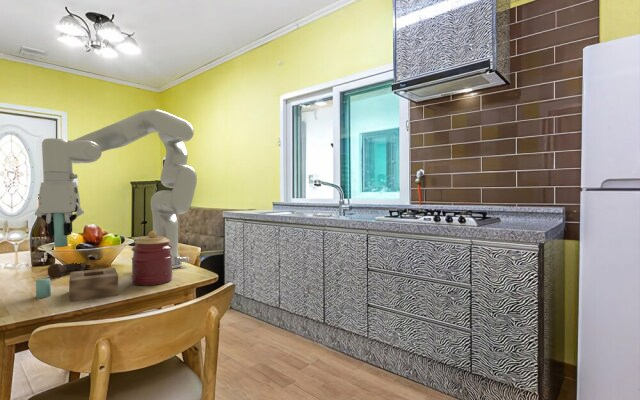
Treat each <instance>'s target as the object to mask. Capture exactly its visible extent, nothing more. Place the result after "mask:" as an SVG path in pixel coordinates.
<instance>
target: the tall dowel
mask: <svg viewBox="0 0 640 400" xmlns="http://www.w3.org/2000/svg"><path fill="white" fill-rule="evenodd" d="M65 221H66V220H65V215H64V213H55V214H53V222H54V236H53V239H54V240H53V242H54V248H65V247H68V246H69V244H68V243H69V242H68V235H67V236H65V235H64V223H66V222H65Z"/></svg>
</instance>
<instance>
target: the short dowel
mask: <svg viewBox="0 0 640 400" xmlns="http://www.w3.org/2000/svg"><path fill="white" fill-rule="evenodd" d="M51 282H52V281H51V278H50V277H47V278H39V279H36V280H35V298H36V299H43V298H44V299H46V298H49V297H51V295H52V294H51V292H52V291H51Z"/></svg>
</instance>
